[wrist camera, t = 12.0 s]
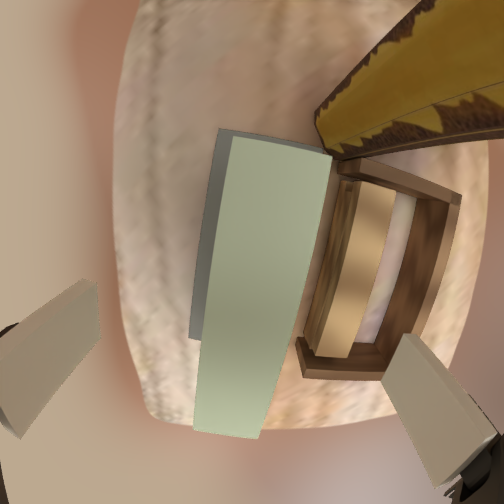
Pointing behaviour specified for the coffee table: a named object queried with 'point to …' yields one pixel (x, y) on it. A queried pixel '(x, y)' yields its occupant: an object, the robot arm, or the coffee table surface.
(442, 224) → the frame
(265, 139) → the mat
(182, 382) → the coffee table surface
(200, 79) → the coffee table surface
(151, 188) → the coffee table surface
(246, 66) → the coffee table surface
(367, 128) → the book
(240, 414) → the pale green slab
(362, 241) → the brown wooden bar
